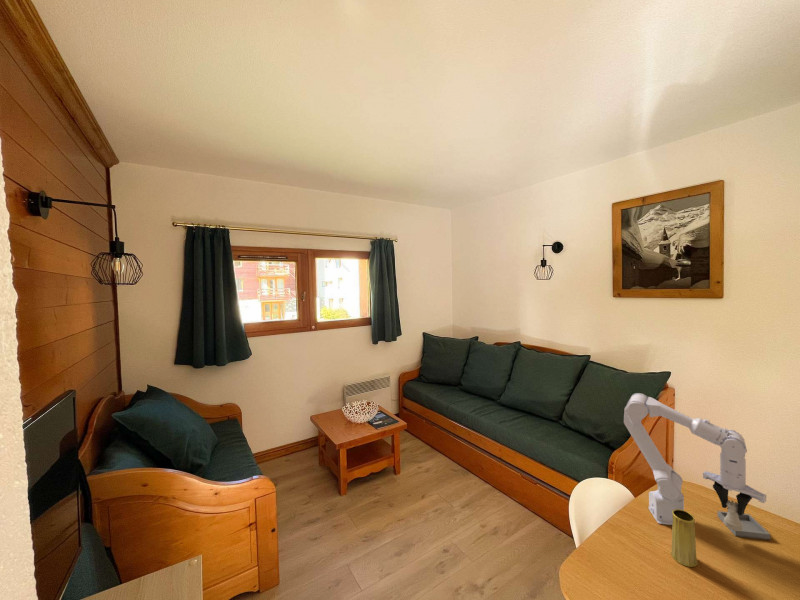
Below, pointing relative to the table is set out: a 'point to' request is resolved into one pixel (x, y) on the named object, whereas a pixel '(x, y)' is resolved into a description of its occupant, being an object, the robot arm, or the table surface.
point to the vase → (683, 538)
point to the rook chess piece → (732, 517)
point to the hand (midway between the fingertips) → (732, 510)
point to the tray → (747, 527)
